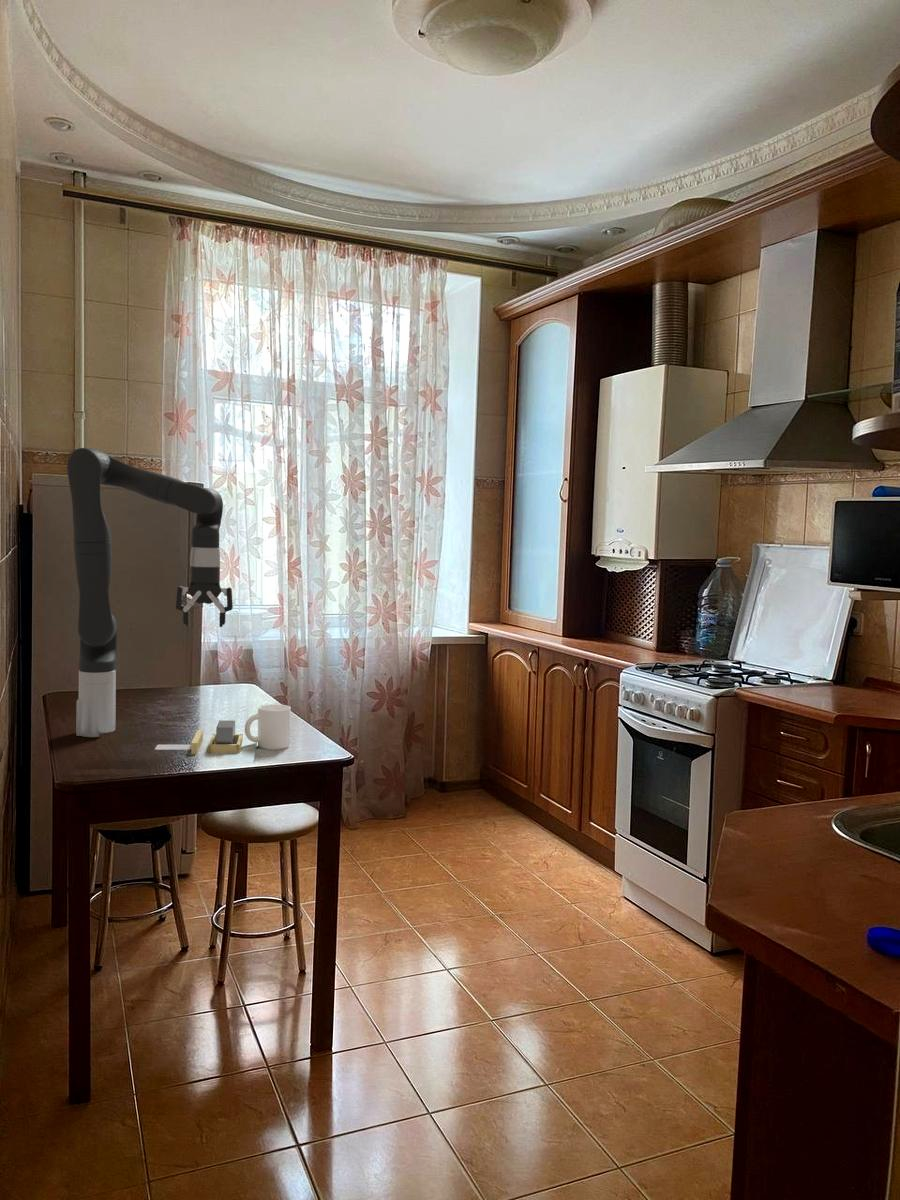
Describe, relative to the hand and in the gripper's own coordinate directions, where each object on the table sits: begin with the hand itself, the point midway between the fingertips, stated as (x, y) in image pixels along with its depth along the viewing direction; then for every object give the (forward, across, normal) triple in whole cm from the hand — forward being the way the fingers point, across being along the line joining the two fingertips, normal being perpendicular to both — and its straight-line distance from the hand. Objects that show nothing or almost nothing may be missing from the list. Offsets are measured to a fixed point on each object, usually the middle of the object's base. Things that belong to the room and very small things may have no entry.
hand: (204, 626), depth 245 cm
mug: (+30, -17, +9) cm, 36 cm away
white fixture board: (+30, -1, +13) cm, 33 cm away
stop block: (+29, -7, +13) cm, 33 cm away
